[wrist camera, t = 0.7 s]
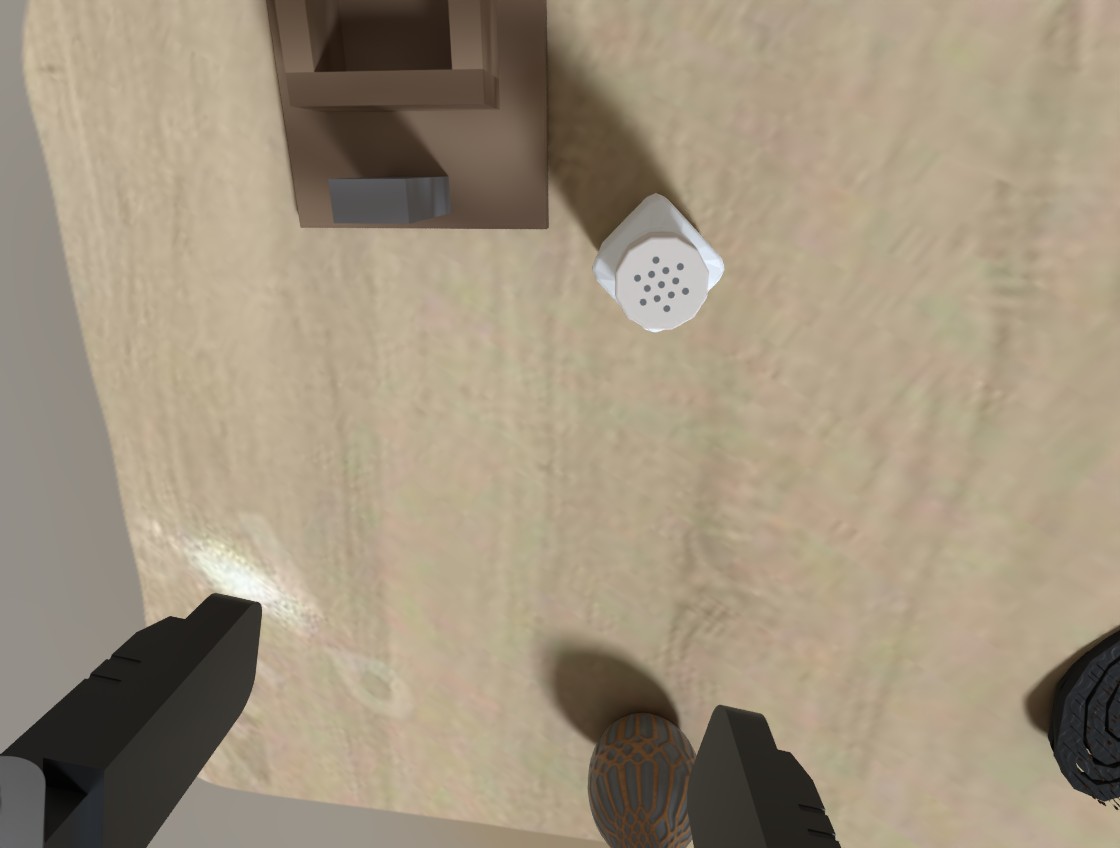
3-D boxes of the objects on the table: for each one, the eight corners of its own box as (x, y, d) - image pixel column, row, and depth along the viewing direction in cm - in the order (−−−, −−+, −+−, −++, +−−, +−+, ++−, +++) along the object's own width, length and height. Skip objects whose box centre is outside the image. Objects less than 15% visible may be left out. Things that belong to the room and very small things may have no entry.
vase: (623, 784, 44) (621, 925, 36) (572, 715, 42) (557, 846, 34) (715, 755, 42) (735, 896, 34) (667, 681, 40) (675, 811, 32)
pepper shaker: (651, 309, 31) (658, 365, 23) (593, 250, 31) (577, 284, 22) (713, 249, 30) (747, 284, 21) (655, 186, 29) (665, 195, 20)
